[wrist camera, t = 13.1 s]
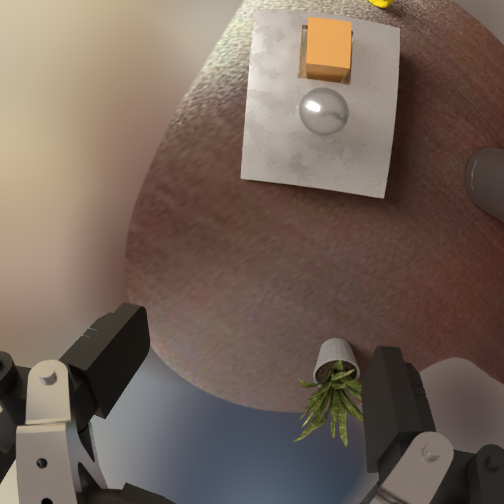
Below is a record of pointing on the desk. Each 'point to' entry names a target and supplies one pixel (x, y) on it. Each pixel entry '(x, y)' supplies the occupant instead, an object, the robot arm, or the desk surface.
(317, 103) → the two-tier square platform
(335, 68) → the orange rectangular prism
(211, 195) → the desk surface
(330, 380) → the house plant
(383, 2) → the watch
